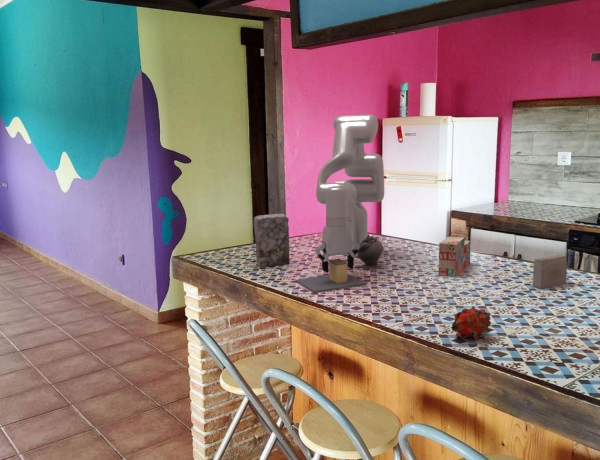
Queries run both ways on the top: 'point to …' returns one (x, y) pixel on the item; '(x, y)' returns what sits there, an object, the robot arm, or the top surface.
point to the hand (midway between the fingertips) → (338, 269)
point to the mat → (328, 283)
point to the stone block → (271, 239)
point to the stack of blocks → (453, 256)
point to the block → (338, 270)
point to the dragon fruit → (471, 323)
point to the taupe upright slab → (549, 272)
